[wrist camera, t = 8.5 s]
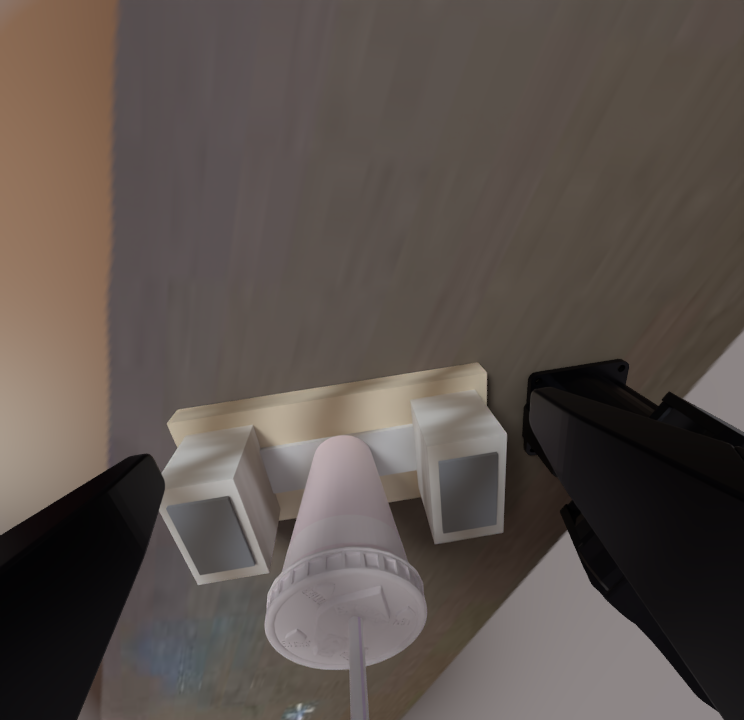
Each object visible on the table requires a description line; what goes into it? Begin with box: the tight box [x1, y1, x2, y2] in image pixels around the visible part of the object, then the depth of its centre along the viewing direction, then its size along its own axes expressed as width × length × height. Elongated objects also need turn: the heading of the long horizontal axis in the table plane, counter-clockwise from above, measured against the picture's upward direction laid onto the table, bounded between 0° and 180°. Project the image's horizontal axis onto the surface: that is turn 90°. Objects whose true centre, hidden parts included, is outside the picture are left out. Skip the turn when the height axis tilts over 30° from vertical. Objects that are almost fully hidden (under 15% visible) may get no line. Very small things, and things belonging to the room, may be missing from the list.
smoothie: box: [265, 435, 427, 720], centre depth 16 cm, size 6×6×14 cm
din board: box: [159, 362, 507, 585], centre depth 21 cm, size 19×9×6 cm, turn 98°
